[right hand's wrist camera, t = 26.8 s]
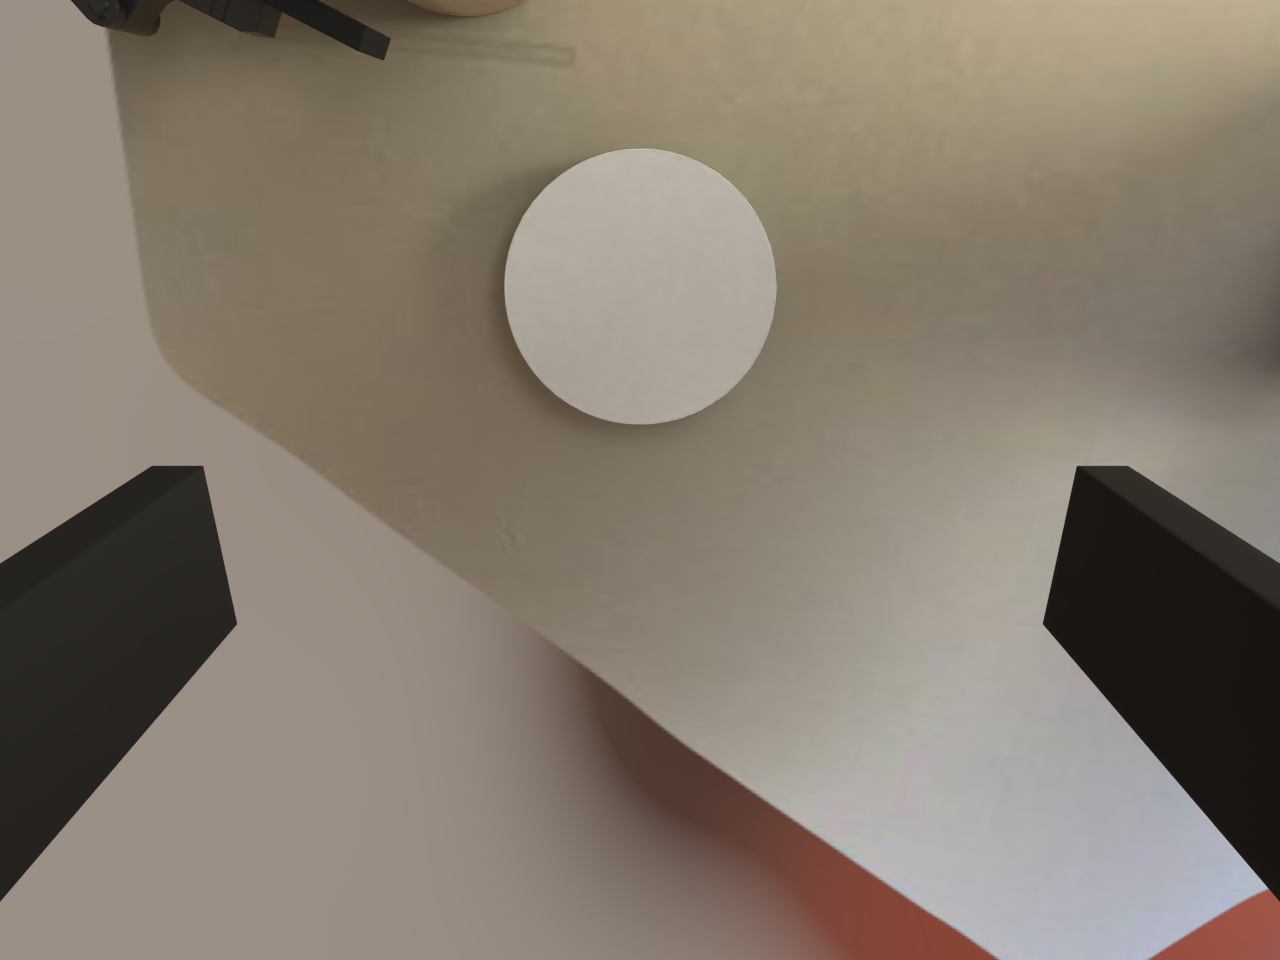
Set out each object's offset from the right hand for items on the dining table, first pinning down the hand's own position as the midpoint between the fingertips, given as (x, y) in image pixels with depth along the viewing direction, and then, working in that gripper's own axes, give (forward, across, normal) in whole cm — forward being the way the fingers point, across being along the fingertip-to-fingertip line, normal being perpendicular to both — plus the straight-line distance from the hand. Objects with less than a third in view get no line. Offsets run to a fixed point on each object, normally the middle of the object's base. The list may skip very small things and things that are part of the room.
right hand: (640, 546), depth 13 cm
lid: (+24, 0, 0) cm, 24 cm away
